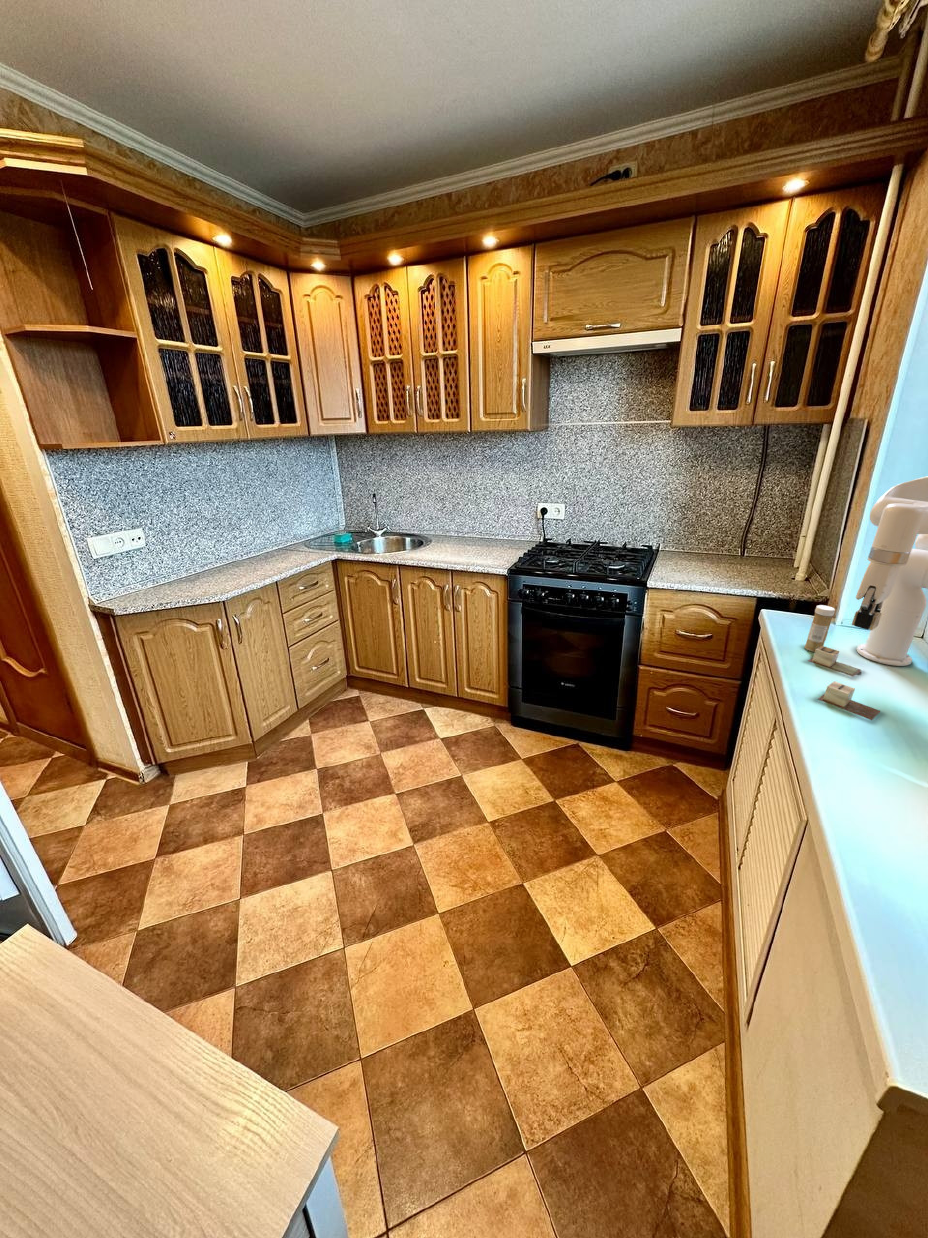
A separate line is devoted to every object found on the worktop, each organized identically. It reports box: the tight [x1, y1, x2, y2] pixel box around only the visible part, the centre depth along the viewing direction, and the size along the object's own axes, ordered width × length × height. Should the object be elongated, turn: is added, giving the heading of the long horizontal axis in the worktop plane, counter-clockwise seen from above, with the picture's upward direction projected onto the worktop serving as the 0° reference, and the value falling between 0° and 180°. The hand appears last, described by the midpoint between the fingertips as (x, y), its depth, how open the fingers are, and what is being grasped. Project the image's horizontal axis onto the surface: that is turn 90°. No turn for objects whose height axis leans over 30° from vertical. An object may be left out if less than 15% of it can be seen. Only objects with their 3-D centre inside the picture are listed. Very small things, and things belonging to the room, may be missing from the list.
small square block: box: [851, 609, 882, 631], centre depth 129 cm, size 4×4×4 cm
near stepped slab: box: [817, 681, 881, 721], centre depth 120 cm, size 6×11×4 cm, turn 38°
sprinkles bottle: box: [804, 604, 836, 653], centre depth 148 cm, size 5×5×14 cm
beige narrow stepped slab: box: [807, 645, 862, 677], centre depth 139 cm, size 6×11×4 cm, turn 38°
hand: (864, 624), depth 130 cm, fingers closed on small square block, 4 cm apart
